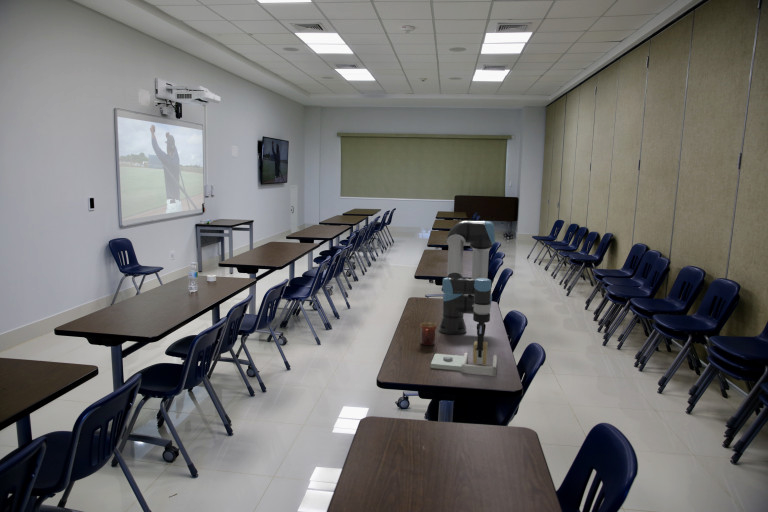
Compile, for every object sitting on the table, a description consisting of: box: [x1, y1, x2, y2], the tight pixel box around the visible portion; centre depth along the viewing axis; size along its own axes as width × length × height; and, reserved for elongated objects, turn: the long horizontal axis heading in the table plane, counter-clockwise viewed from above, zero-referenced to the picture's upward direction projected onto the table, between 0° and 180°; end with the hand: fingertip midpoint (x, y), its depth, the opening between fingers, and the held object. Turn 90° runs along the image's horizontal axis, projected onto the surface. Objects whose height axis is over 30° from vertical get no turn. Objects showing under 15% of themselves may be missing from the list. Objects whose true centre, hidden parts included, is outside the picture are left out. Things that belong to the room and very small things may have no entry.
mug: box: [419, 322, 437, 346], centre depth 260 cm, size 12×9×10 cm
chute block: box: [472, 340, 488, 366], centre depth 231 cm, size 5×6×9 cm
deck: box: [430, 352, 498, 377], centre depth 231 cm, size 17×29×4 cm, turn 76°
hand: (479, 361), depth 232 cm, fingers closed on chute block, 5 cm apart
